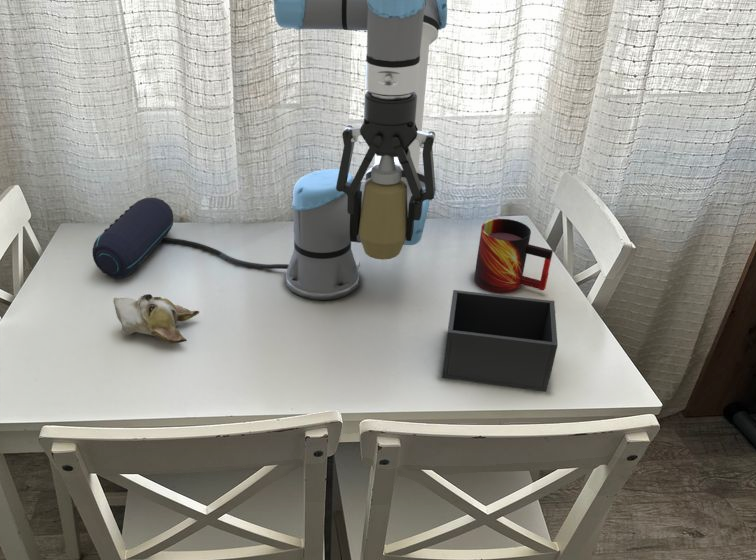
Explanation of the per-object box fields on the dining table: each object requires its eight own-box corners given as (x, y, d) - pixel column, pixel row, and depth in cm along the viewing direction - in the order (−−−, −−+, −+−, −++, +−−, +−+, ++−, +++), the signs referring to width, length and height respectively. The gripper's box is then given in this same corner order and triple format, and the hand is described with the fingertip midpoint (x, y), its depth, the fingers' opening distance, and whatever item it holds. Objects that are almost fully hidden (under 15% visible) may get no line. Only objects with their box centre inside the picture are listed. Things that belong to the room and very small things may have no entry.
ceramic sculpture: (122, 275, 137) (198, 284, 136) (127, 313, 142) (200, 322, 141) (102, 306, 129) (183, 316, 128) (107, 345, 134) (186, 354, 133)
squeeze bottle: (357, 239, 122) (360, 136, 111) (405, 240, 122) (413, 136, 111) (357, 263, 115) (361, 156, 105) (408, 264, 115) (417, 156, 104)
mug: (544, 295, 146) (556, 243, 139) (475, 292, 148) (483, 239, 140) (538, 271, 154) (548, 220, 147) (472, 268, 155) (479, 217, 148)
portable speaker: (142, 228, 172) (135, 189, 166) (180, 233, 170) (175, 194, 164) (89, 281, 153) (80, 239, 147) (132, 287, 151) (124, 245, 145)
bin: (441, 377, 125) (447, 332, 119) (447, 333, 136) (453, 289, 130) (546, 391, 122) (557, 345, 116) (544, 345, 133) (554, 300, 127)
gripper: (314, 94, 102) (315, 238, 116) (462, 104, 98) (445, 252, 112) (326, 79, 108) (325, 217, 122) (466, 88, 104) (449, 230, 117)
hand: (383, 234), depth 117 cm, fingers closed on squeeze bottle, 8 cm apart
